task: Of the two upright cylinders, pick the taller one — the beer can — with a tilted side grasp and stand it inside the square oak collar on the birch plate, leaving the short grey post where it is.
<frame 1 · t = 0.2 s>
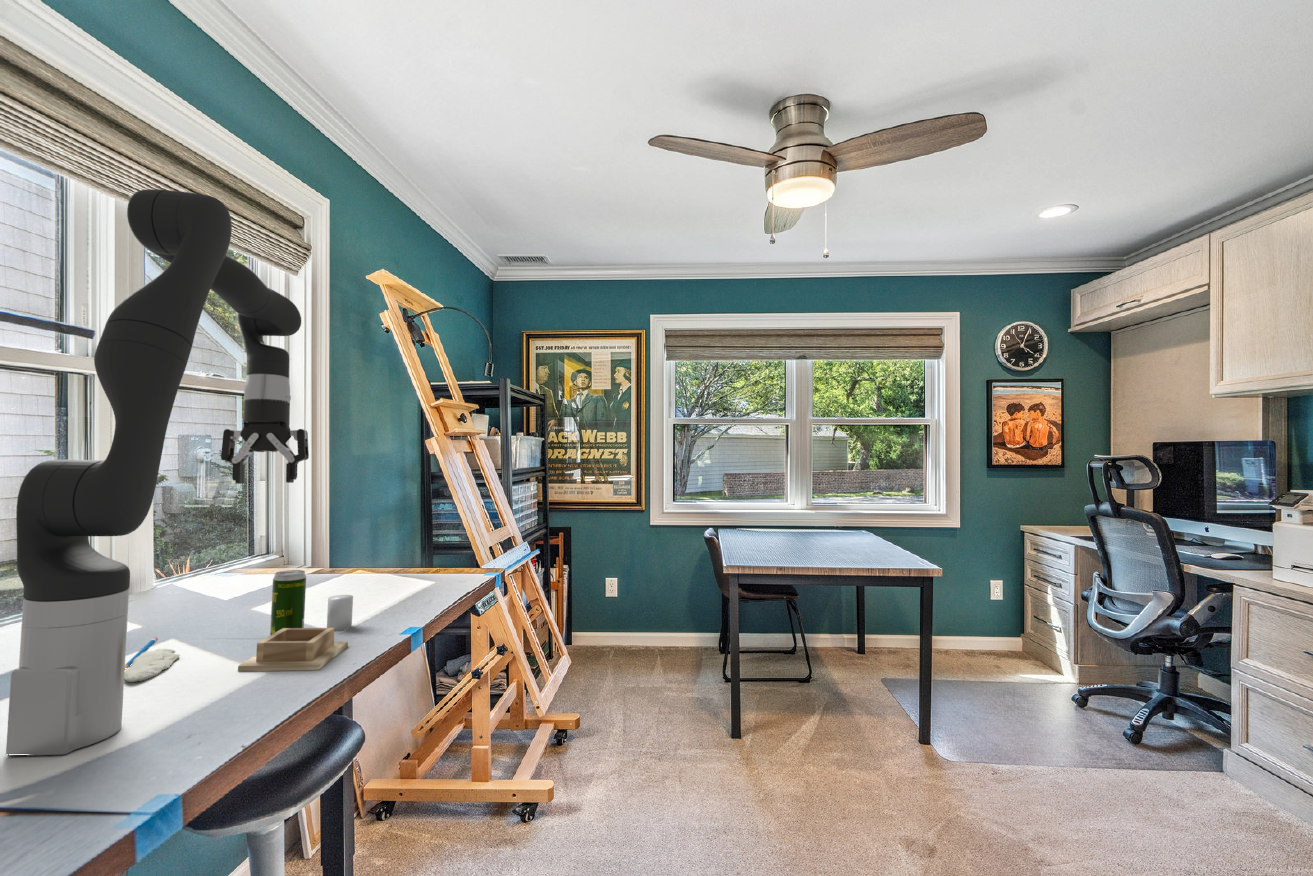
hand: (265, 483, 115), 28 cm above the table, tool pointing down, fingers open, 8 cm apart
short post: (339, 627, 119), on the table
socket: (296, 657, 101), on the table
beer can: (286, 638, 112), on the table
pencil: (140, 657, 101), on the table
stone tool: (150, 672, 94), on the table
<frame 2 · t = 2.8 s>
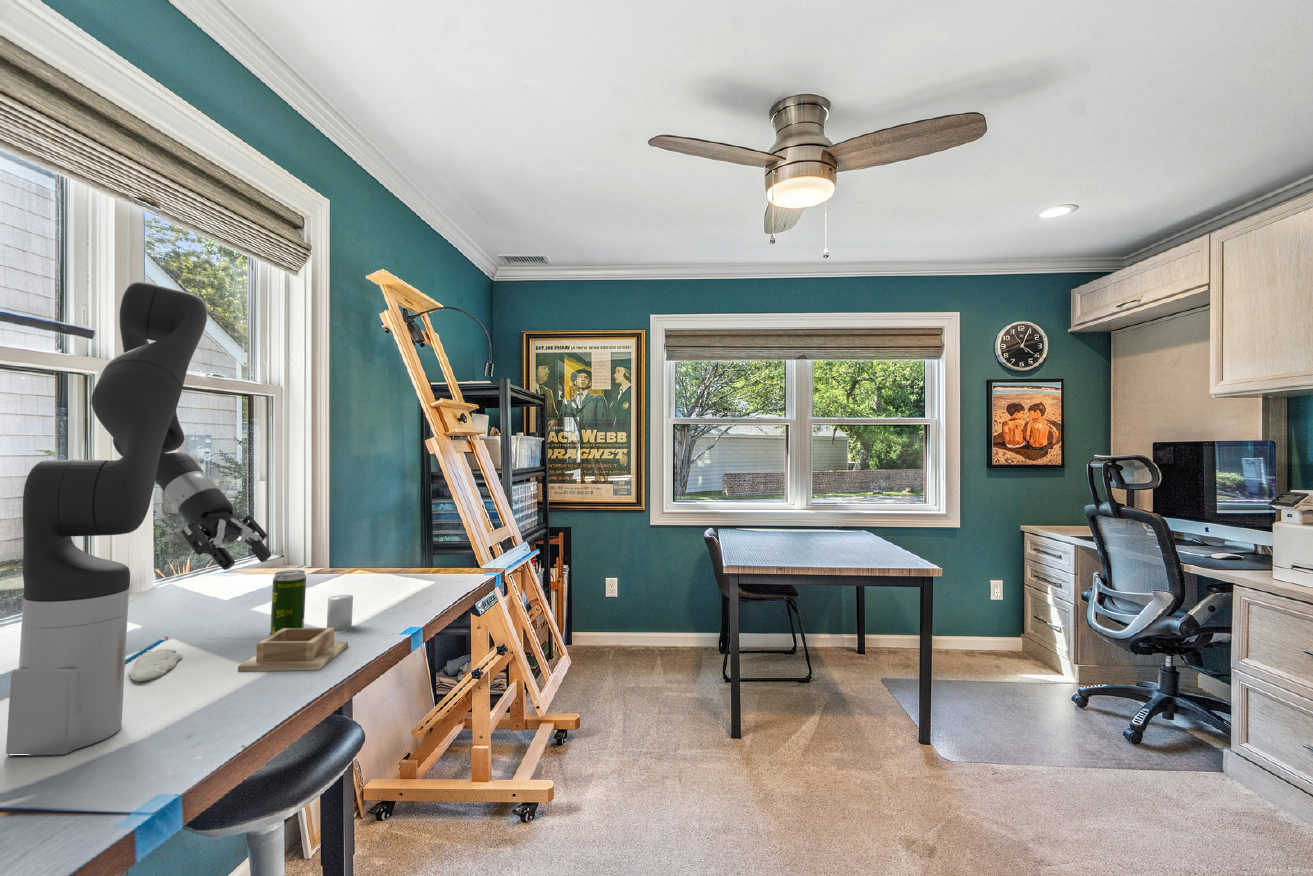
hand: (249, 562, 113), 13 cm above the table, tool tilted 45°, fingers open, 8 cm apart
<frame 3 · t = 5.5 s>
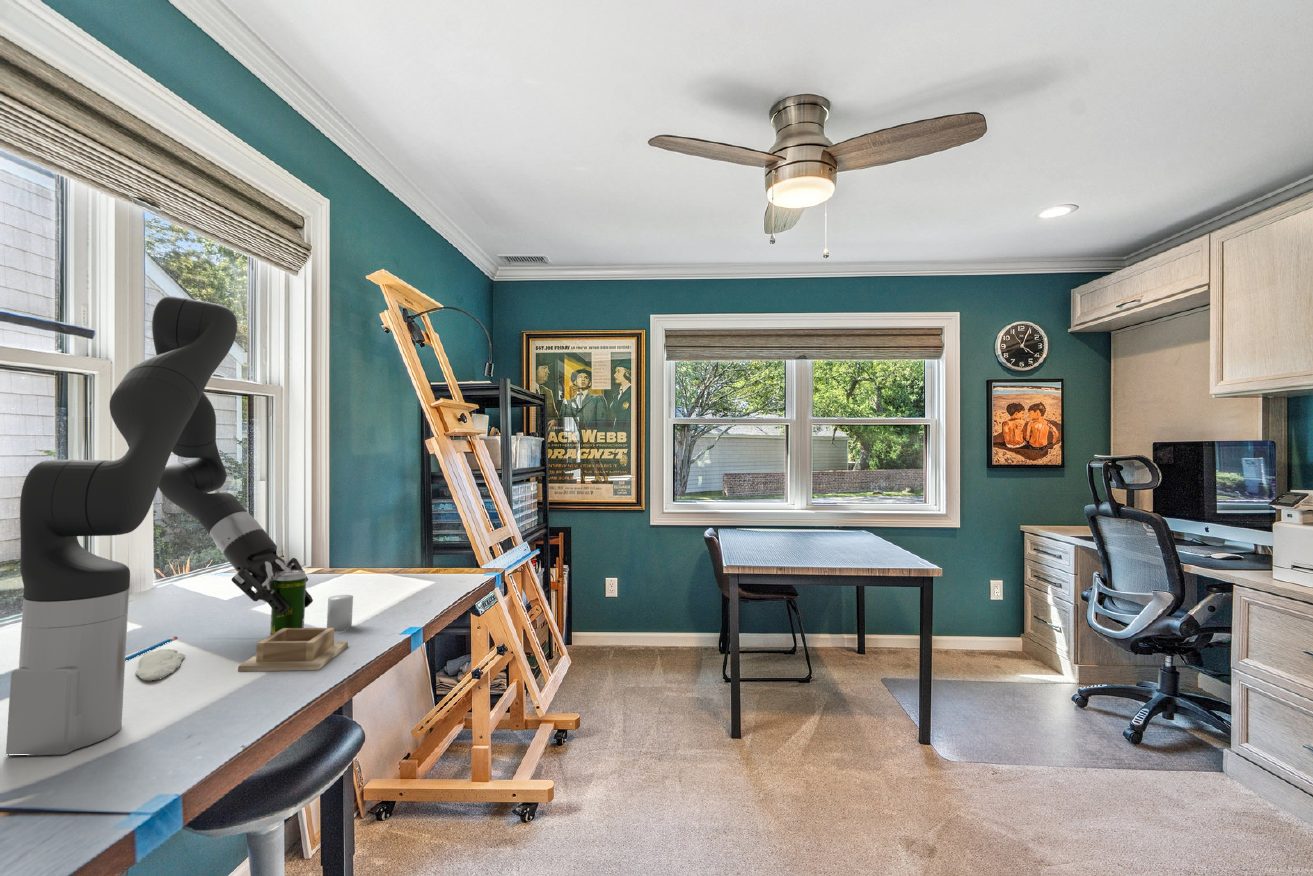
hand: (297, 608, 112), 5 cm above the table, tool tilted 45°, fingers closed on beer can, 5 cm apart
beer can: (287, 637, 112), on the table, touching gripper
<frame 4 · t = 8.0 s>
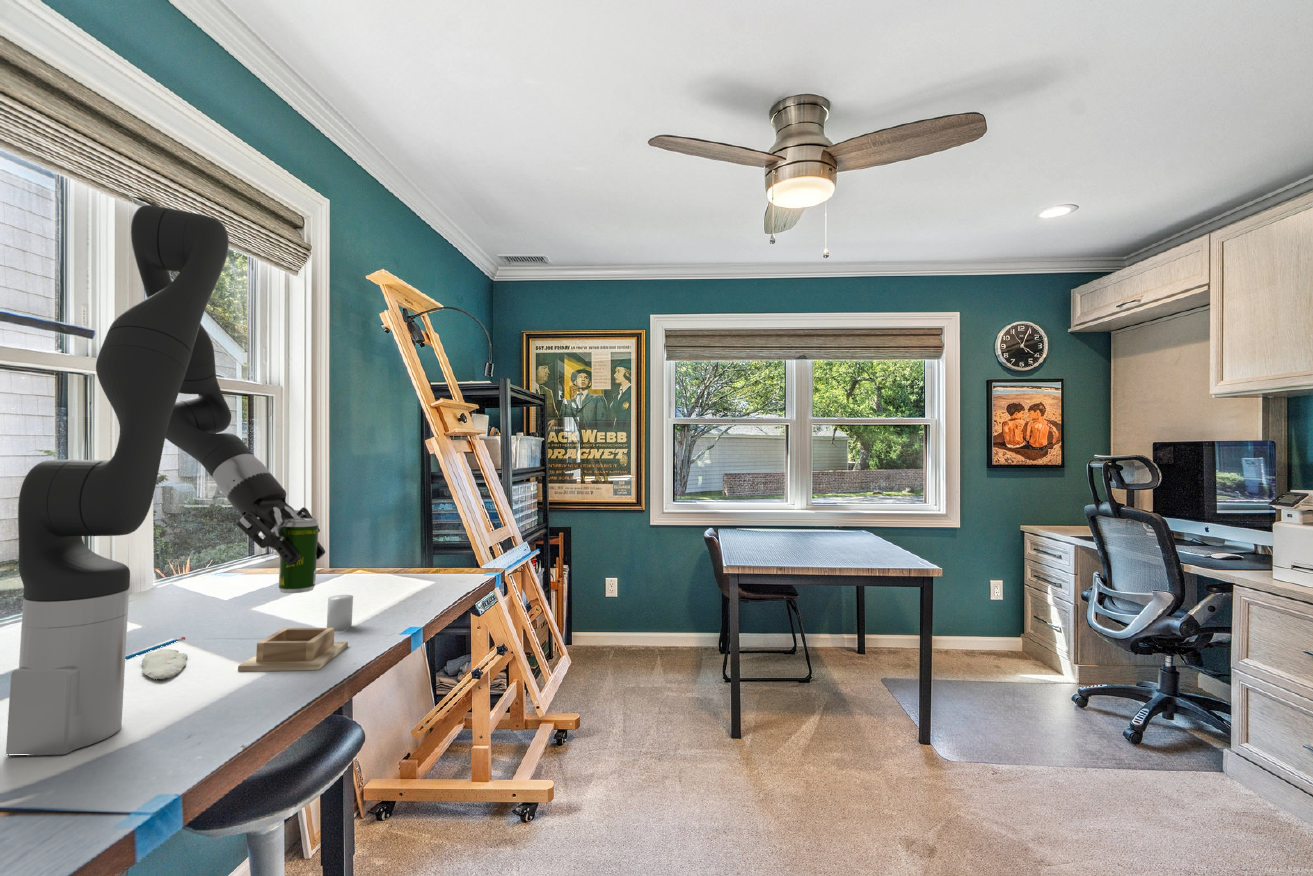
hand: (308, 558, 101), 17 cm above the table, tool tilted 45°, fingers closed on beer can, 5 cm apart
beer can: (296, 591, 101), point 11 cm above the table, touching gripper
when the fingers open (8 cm above the table, at t = 10.4 s): beer can drops 1 cm, resting on socket.
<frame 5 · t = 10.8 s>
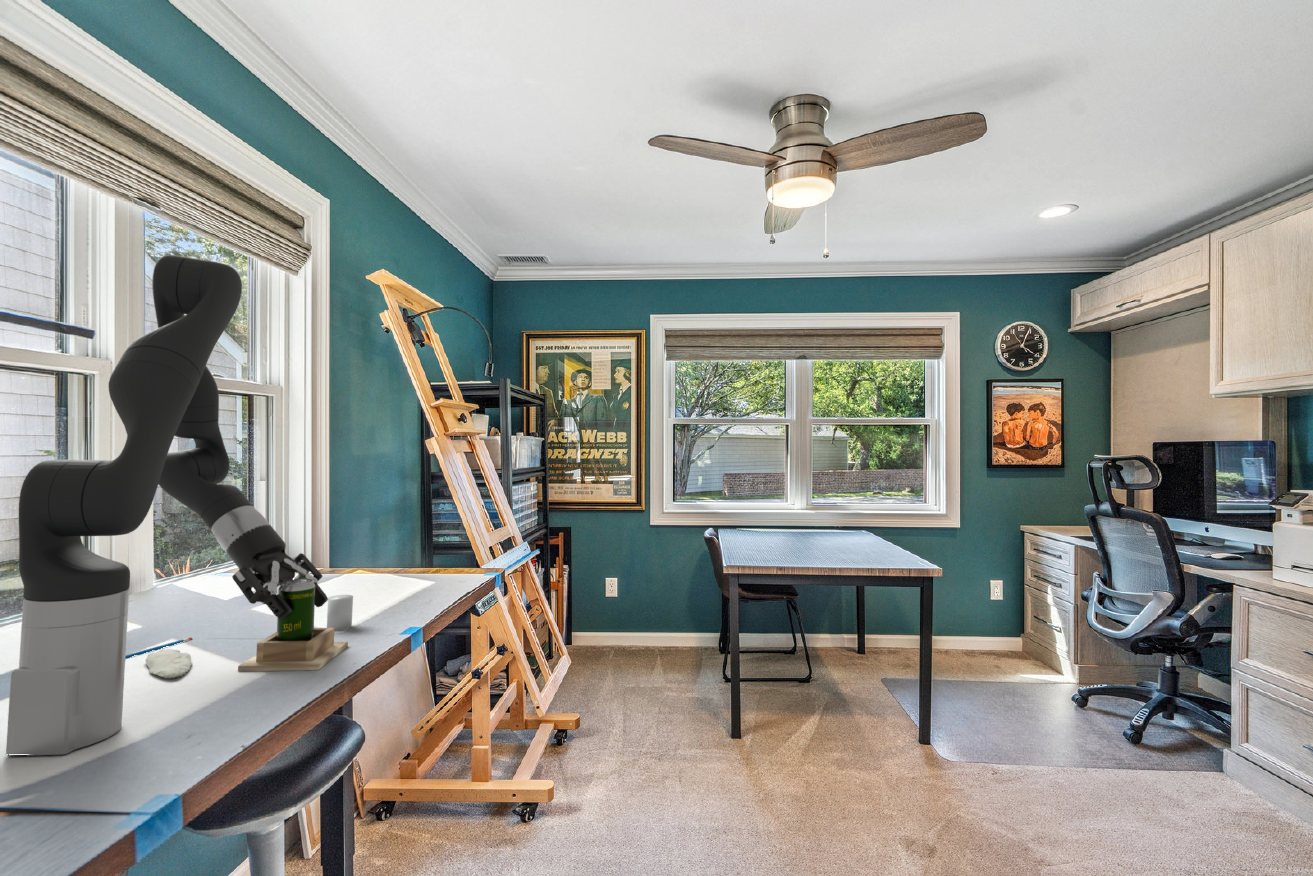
hand: (306, 609, 101), 8 cm above the table, tool tilted 45°, fingers open, 8 cm apart
beer can: (294, 654, 101), point 1 cm above the table, touching socket
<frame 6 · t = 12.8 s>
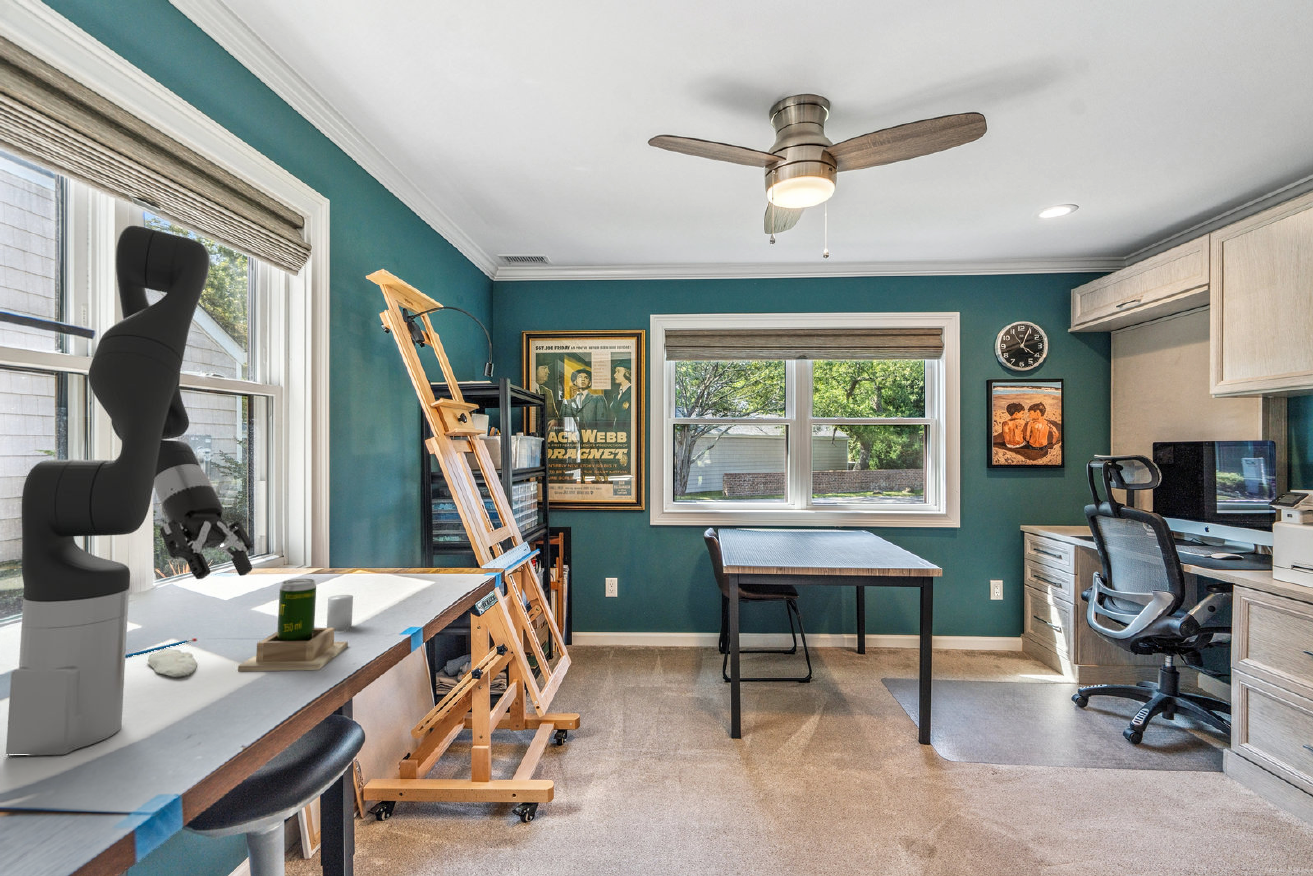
hand: (226, 574, 101), 14 cm above the table, tool tilted 35°, fingers open, 8 cm apart
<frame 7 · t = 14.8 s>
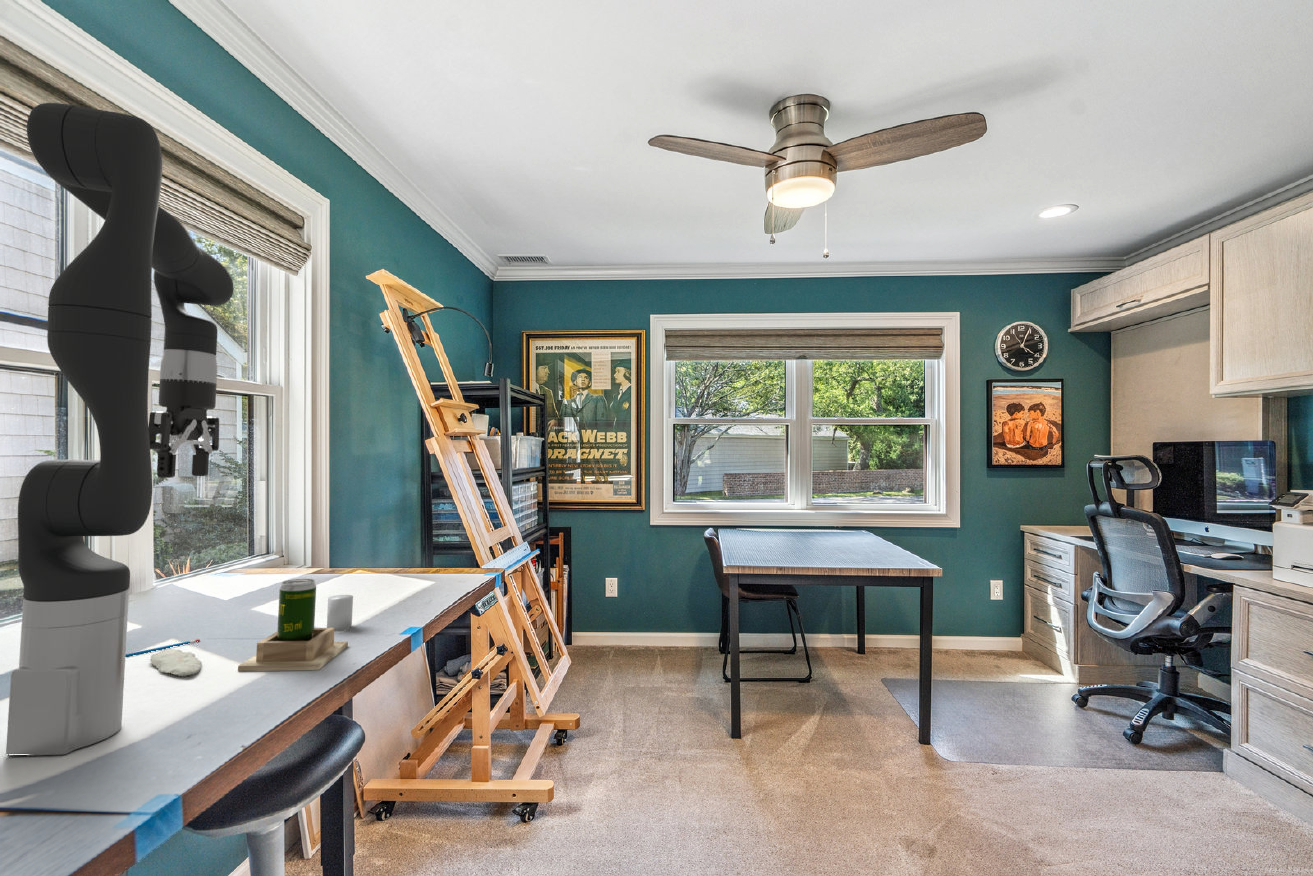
hand: (183, 476, 100), 30 cm above the table, tool pointing down, fingers open, 8 cm apart
at the end: beer can 0.3 cm from the socket (horizontally); beer can tilted 0°; short post moved 0.0 cm from its start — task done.
